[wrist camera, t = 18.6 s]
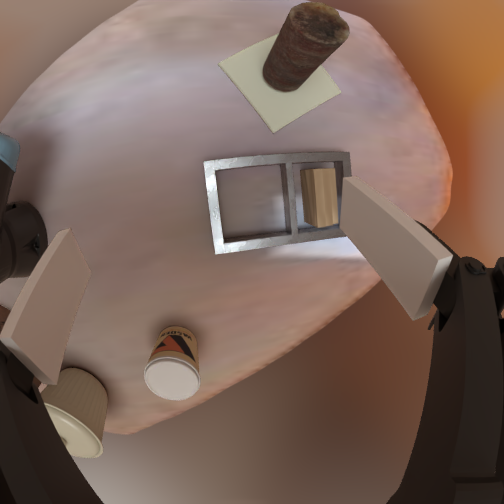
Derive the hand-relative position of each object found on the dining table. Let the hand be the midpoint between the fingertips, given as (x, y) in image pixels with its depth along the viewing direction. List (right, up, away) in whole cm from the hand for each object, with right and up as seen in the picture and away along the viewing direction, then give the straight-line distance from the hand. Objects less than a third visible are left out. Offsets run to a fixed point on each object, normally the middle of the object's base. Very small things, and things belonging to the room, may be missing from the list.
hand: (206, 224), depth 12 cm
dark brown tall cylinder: (+7, +29, +27) cm, 41 cm away
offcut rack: (+7, +8, +33) cm, 35 cm away
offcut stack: (+13, +9, +34) cm, 38 cm away
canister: (-38, -33, +38) cm, 63 cm away
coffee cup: (-12, -19, +38) cm, 44 cm away
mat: (+7, +29, +28) cm, 41 cm away
